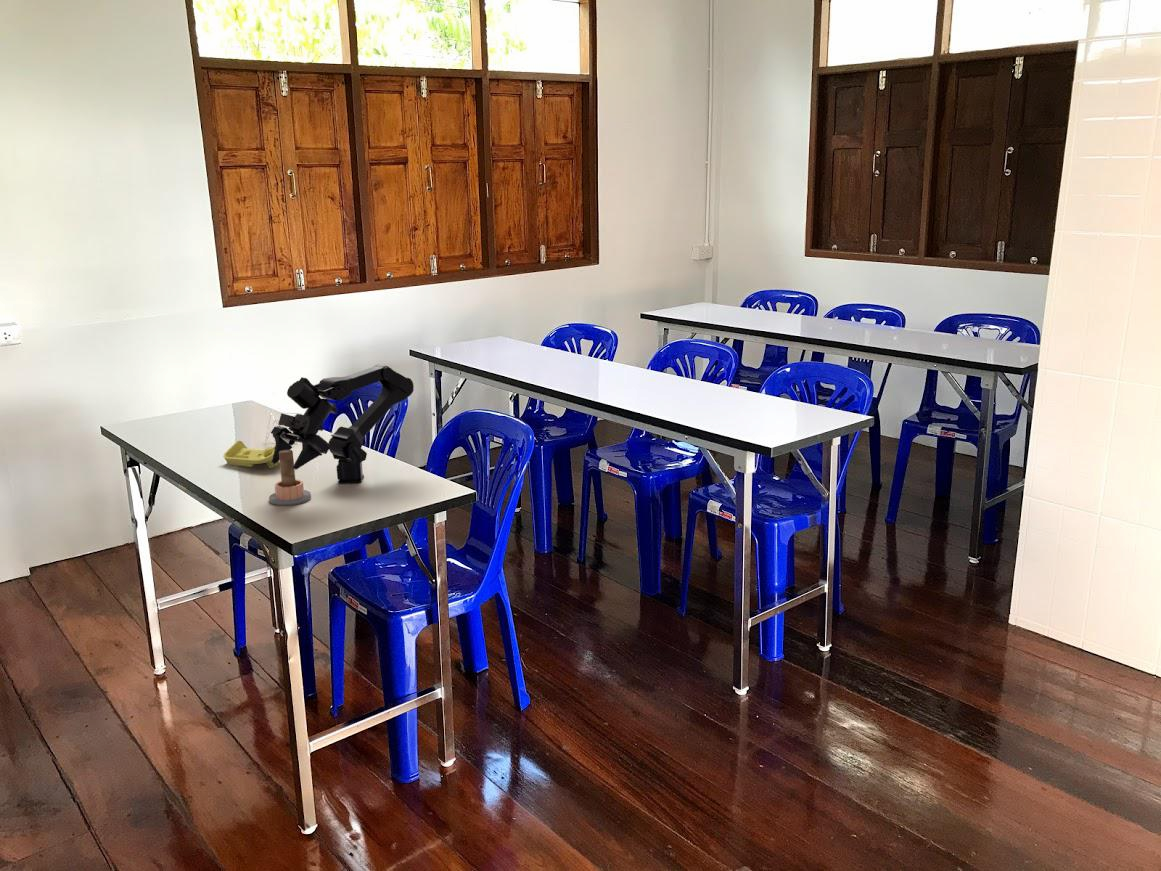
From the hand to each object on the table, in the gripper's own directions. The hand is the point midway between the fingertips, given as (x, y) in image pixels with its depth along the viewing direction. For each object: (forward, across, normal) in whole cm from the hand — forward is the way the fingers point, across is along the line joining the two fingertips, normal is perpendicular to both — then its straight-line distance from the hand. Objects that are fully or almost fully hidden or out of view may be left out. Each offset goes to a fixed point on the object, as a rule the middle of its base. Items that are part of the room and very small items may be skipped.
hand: (283, 465), depth 261 cm
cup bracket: (+6, 0, +8) cm, 10 cm away
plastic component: (-4, -36, +19) cm, 41 cm away
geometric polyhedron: (-20, -52, +34) cm, 65 cm away
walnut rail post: (+5, 0, +7) cm, 9 cm away
